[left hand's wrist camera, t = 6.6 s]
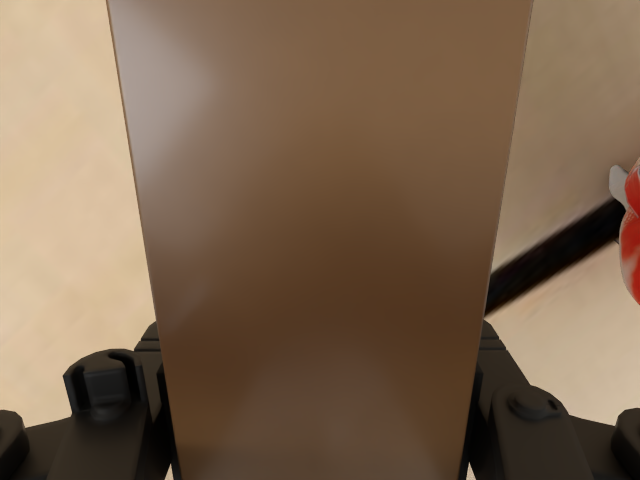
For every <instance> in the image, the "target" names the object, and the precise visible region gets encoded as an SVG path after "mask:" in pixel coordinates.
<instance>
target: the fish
mask: <svg viewBox="0 0 640 480" xmlns="http://www.w3.org/2000/svg"><path fill="white" fill-rule="evenodd" d="M609 189H610V193H611V194H612V196H613V197H614V198H615V199H617V200H618V201H620V202H621V203H622V204H623V205H624V207H625V209H626V213H625V215H624V218H623V220H622V222H621V227H620V235H619V241H618V240H614V241H616V242H617V243H618V244H619V253H620V265H621V272H622V276H623V280H624V283H625V285H626V287H627V289H628V291H629V293H630V294H631V295H632V297H633V298H634V299H635V300H636V302H637V303H638V304H639V305H640V157H639V158H638V160H637V162H636V163H635V164H634V166H633V167H632V169H631V171H630V172H629V173H628V172H627V171H625V170H624V169H623V168H622V167H620V166H619V165H614V166H612V167H611V169H610V173H609Z"/></svg>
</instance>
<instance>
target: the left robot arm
mask: <svg viewBox="0 0 640 480" xmlns="http://www.w3.org/2000/svg"><path fill="white" fill-rule="evenodd" d="M63 379H64V383H65V387H66V390H67V394H68V398H69V402H70V406H71V410H72V415H71V417H68V418H65V419H62V420H58V421H54V422H49V423H45V424H41V425H36V426H32V427H27V428H25V426H24V423H23V420H22V417H20V416H19V415H18V414H17V413H16V412H13V411H7V410H0V480H165V477H166V474H167V472H168V469H169V466H170V464H171V466H172V472H173V479H174V480H181V475H180V468H179V462H178V456H177V449H176V443H175V437H174V430H173V424H172V418H171V411H170V405H169V398H168V392H167V386H166V379H165V373H164V367H163V360H162V354H161V348H160V341H159V335H158V328H157V322H156V321H155V322H154V323H153V324H151V325H150V326H149V327H148V329H147V330H146V332H145V333H144V335H143V336H142V338H141V341H139V342H138V344H137V345H136V347H135V349H134V351H131V350H127V349H108V350H104V351H99V352H95V353H93V354H90V355H88V356H86V357H83V358H81V359H80V360H78V361H77V362H76V363H74V364H73V365H71V366H70V367H69V368H68V370H67V371H66V372H65V373H64V375H63ZM469 462H470V465H471V468H472V470H473V473H474V476H475V478H476V480H640V408H633V409H628V410H624V411H623V412H622V413H621V414H620V415H619V416H618V419H617V422H616V425H615V426H612V425H608V424H603V423H599V422H594V421H590V420H585V419H581V418H578V417H575V416H571V415H569V414H568V412H567V410H566V409H565V407H564V406H563V404H562V403H561V402H560V401H559V400H558V399H557V398H555V397H554V396H553V395H552V394H550V393H548V392H546V391H544V390H542V389H540V388H538V387H535V386H531V385H530V384H529V382H528V381H527V379H526V378H525V376H524V375H523V373H522V371H521V370H520V368H519V367H518V365H517V364H516V362H515V361H514V359H513V358H512V356H511V355H510V353H509V352H508V350H506V347H505V346H504V344H503V342H502V341H501V340H499V336H498V335H497V333H496V332H495V330H494V329H493V327H492V326H491V324H489V323H488V322H487V321H485V320H484V319H483V325H482V331H481V337H480V344H479V350H478V357H477V363H476V369H475V376H474V382H473V389H472V395H471V401H470V408H469V414H468V420H467V427H466V433H465V440H464V446H463V452H462V459H461V465H460V471H459V478H458V480H466V477H467V471H468V465H469Z"/></svg>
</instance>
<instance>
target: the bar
mask: <svg viewBox="0 0 640 480" xmlns="http://www.w3.org/2000/svg"><path fill="white" fill-rule="evenodd" d="M106 4H107V10H108V17H109V23H110V29H111V36H112V42H113V48H114V55H115V61H116V68H117V74H118V80H119V87H120V93H121V99H122V106H123V112H124V118H125V125H126V131H127V138H128V144H129V150H130V157H131V163H132V169H133V176H134V182H135V188H136V195H137V201H138V208H139V214H140V220H141V227H142V233H143V239H144V246H145V252H146V258H147V265H148V271H149V278H150V284H151V290H152V297H153V303H154V309H155V316H156V322H157V328H158V335H159V341H160V348H161V354H162V360H163V367H164V373H165V379H166V386H167V392H168V398H169V405H170V411H171V418H172V424H173V430H174V437H175V443H176V449H177V456H178V462H179V468H180V475H181V480H458V478H459V471H460V465H461V459H462V452H463V446H464V440H465V433H466V427H467V420H468V414H469V408H470V401H471V395H472V389H473V382H474V376H475V369H476V363H477V357H478V350H479V344H480V337H481V331H482V325H483V318H484V312H485V306H486V299H487V293H488V286H489V280H490V274H491V267H492V261H493V254H494V248H495V242H496V235H497V229H498V223H499V216H500V210H501V203H502V197H503V191H504V184H505V178H506V172H507V165H508V159H509V152H510V146H511V140H512V133H513V127H514V120H515V114H516V108H517V101H518V95H519V89H520V82H521V76H522V69H523V63H524V57H525V50H526V44H527V37H528V31H529V25H530V18H531V12H532V6H533V0H106Z"/></svg>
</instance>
